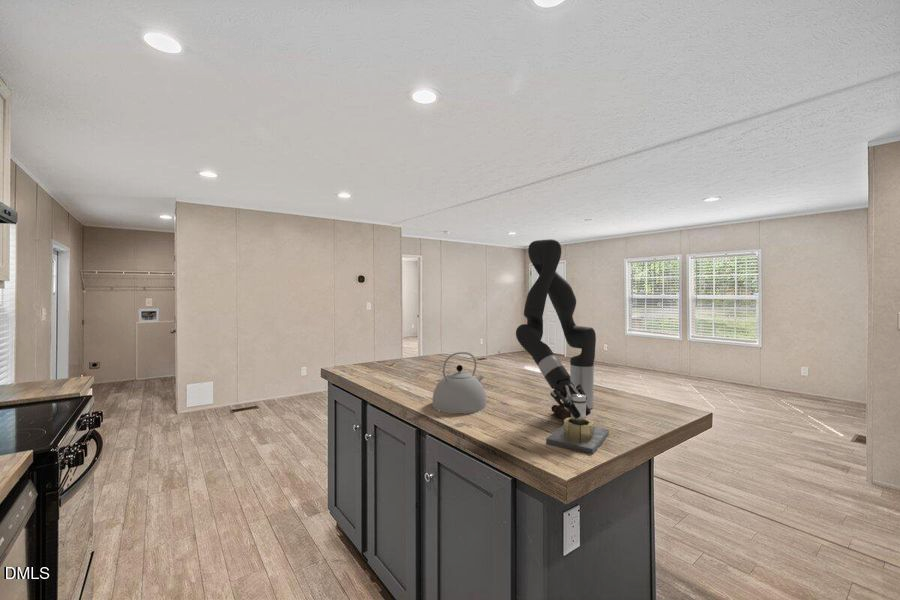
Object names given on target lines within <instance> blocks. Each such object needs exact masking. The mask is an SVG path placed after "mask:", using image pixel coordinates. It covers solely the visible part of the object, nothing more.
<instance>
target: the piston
mask: <svg viewBox="0 0 900 600" xmlns="http://www.w3.org/2000/svg"><path fill="white" fill-rule="evenodd" d="M571 397H572V398H571V399H572V402H573V405H575V407H576V408H577V410H578V411H579V413H580V414H581V416H580V417H579V418H577V419H575V418H574V416H573V415H572V414H571V423H572V424H577V425H586V419H587V416H586V396H585V395H581V394H572V395H571Z"/></svg>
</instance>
